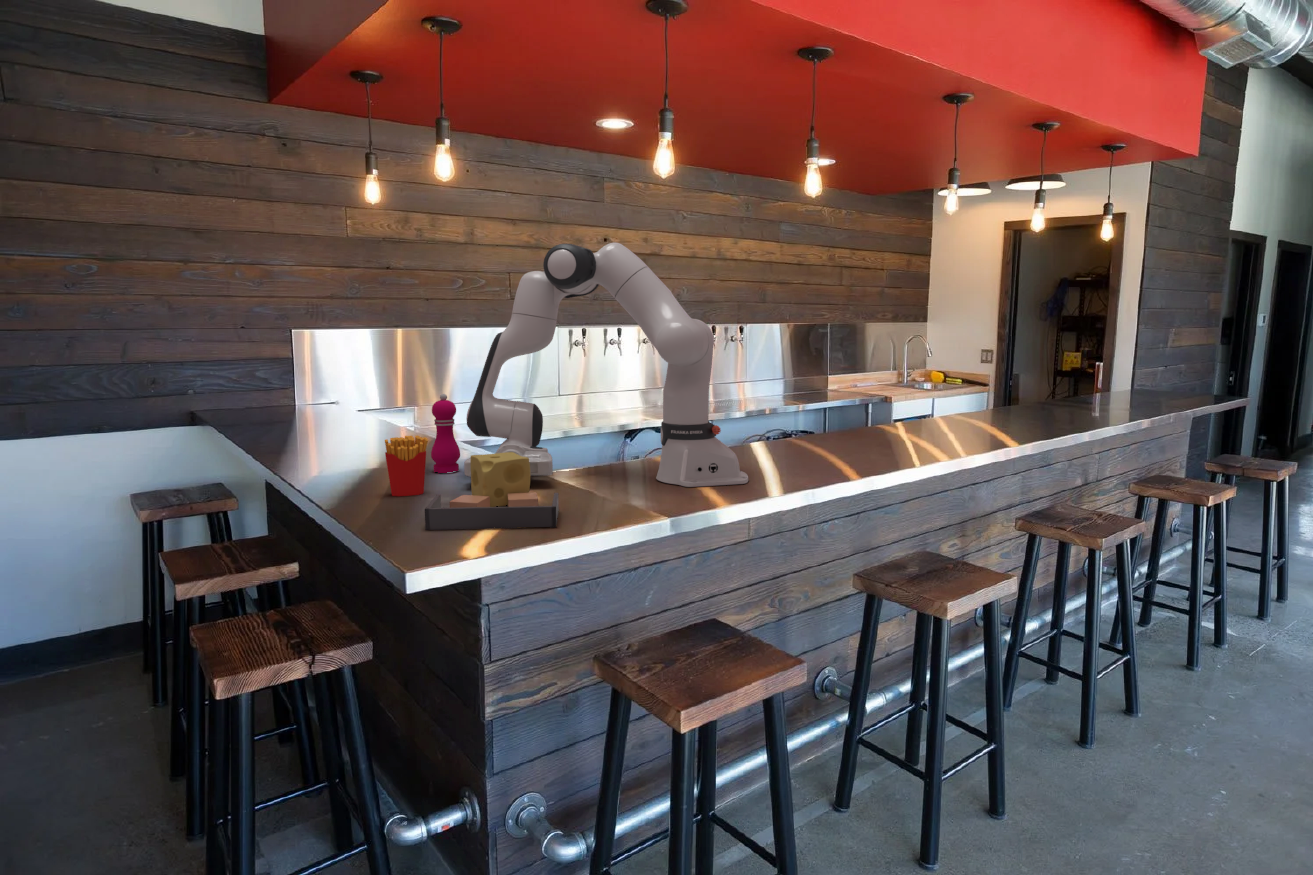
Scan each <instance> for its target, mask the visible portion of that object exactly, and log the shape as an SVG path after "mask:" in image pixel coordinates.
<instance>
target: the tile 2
mask: <svg viewBox="0 0 1313 875" xmlns="http://www.w3.org/2000/svg"><path fill="white" fill-rule="evenodd" d="M537 493H538V492H536V491H535V492H529V493H509V494H508V505H507V507H521V506H539V496H538V494H537Z"/></svg>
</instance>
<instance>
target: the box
mask: <svg viewBox="0 0 1313 875" xmlns="http://www.w3.org/2000/svg"><path fill="white" fill-rule="evenodd" d="M441 496H442V495H441V494H436V495H435V496H434V497H433V498H432V499H431V501H430V502H429V503H428V505H426V507H425V508H424V527H425V528H424V529H425V531H431V530H433V531H436V530H441V531H442V530H478V529H479V530H481V529H483V530H486V529H487V530H489V529H490V530H491V529H495V530H496V529H518V528H517V527H550V528H557V526H558V519H559V518H558V517H559V512H558V511H559V508H560V507H559V492H554V493H553V497H552V498H553V499H552V504H551V505H538V506H521V507H508V506H498V507H462V508H450V507H442V497H441ZM557 518H558V519H557ZM556 525H557V526H556Z"/></svg>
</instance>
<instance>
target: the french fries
mask: <svg viewBox="0 0 1313 875" xmlns="http://www.w3.org/2000/svg"><path fill="white" fill-rule="evenodd" d="M389 439H390V440H388V439H384V444H385V448H386V449H385V450H386V451H385V452H384V454H385V460H386V467H387V474H388V479H389V480H388V481H389V486H390V492H391V497H408V496H420V495H423V493H424V492H425V480H426V478H425V477H426V459H427V458H426V457H427V451H426V450H427V446H428V443H429V440H428V438H427V437H426V436H424V437H423V436H420V435H415V436H413V435H404V437H401V436H400V437H397V436H395V437H390V438H389ZM389 441H390V442H389Z"/></svg>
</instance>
